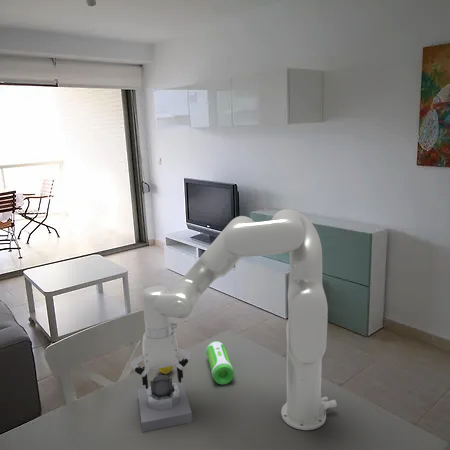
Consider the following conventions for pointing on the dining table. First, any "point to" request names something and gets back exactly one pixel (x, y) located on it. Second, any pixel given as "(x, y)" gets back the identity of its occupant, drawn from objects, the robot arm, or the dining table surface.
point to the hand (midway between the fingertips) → (163, 383)
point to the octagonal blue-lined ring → (163, 399)
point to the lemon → (166, 369)
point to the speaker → (219, 363)
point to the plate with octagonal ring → (164, 412)
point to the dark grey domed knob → (161, 386)
